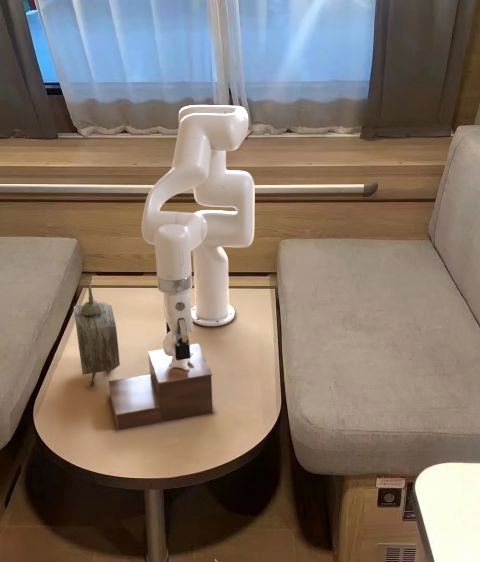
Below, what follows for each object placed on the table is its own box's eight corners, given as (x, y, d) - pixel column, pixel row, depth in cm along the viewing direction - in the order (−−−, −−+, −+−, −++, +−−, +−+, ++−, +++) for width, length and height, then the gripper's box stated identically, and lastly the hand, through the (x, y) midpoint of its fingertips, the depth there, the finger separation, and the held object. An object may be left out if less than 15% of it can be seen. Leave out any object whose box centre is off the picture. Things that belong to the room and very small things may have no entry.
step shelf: (110, 396, 181) (106, 357, 176) (199, 381, 186) (198, 343, 181) (118, 430, 170) (113, 390, 165) (213, 413, 174) (212, 373, 169)
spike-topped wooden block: (80, 360, 195) (69, 274, 184) (115, 355, 197) (106, 269, 186) (85, 392, 183) (73, 302, 171) (122, 387, 185) (113, 297, 173)
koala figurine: (197, 371, 170) (195, 325, 165) (168, 376, 169) (165, 329, 163) (190, 352, 178) (188, 307, 172) (162, 356, 176) (159, 311, 171)
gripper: (200, 296, 157) (203, 365, 165) (183, 261, 172) (186, 326, 180) (165, 301, 156) (169, 370, 164) (150, 265, 171) (155, 330, 179)
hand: (178, 347), depth 172 cm, fingers open, 9 cm apart
